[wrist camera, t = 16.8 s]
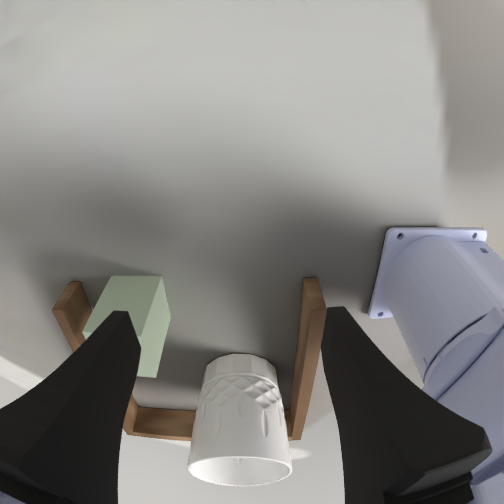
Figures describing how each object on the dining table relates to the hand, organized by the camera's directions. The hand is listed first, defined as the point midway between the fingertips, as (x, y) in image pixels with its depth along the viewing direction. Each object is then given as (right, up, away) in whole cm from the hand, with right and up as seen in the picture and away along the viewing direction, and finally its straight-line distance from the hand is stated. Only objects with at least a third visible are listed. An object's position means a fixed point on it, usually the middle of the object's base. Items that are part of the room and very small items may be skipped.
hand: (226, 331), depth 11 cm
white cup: (0, -8, +17) cm, 19 cm away
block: (-7, -1, +12) cm, 14 cm away
